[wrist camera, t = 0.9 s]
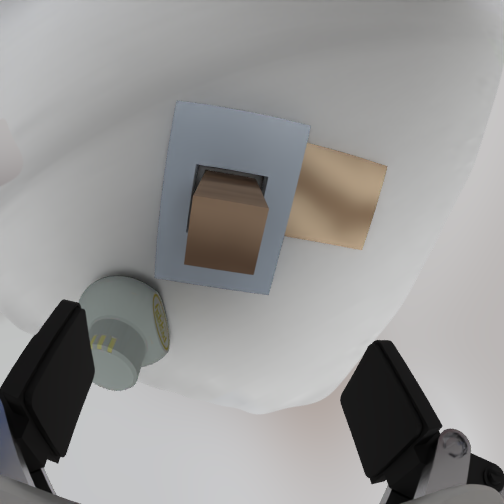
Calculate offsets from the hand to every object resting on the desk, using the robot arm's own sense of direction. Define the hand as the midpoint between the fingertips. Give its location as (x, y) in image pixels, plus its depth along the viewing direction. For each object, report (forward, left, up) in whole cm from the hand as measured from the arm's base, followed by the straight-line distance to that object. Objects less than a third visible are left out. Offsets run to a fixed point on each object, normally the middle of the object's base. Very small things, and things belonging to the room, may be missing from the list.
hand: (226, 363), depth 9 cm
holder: (0, 0, -20) cm, 20 cm away
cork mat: (-2, +10, -20) cm, 23 cm away
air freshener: (+14, -9, -20) cm, 26 cm away
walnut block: (0, 0, -20) cm, 20 cm away
